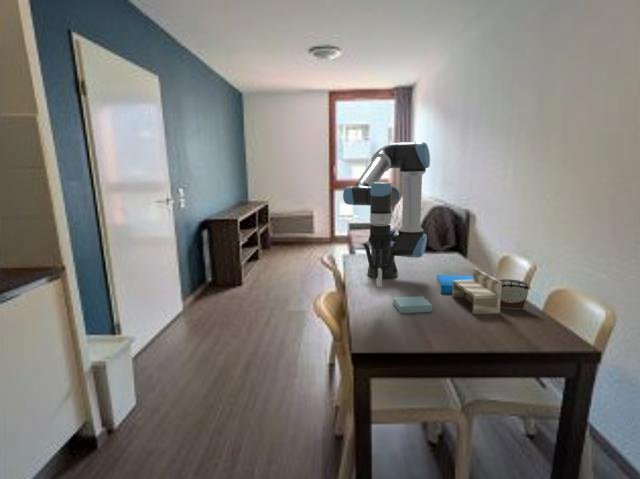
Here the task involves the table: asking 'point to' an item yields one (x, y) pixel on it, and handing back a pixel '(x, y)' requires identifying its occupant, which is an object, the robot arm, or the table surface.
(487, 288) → the shelf
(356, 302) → the table surface
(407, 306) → the teal square tile
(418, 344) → the table surface
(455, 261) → the table surface
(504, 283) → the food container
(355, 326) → the table surface
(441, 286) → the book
